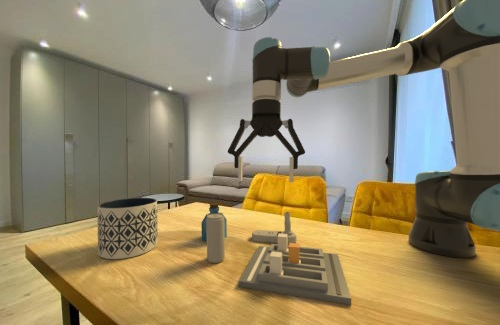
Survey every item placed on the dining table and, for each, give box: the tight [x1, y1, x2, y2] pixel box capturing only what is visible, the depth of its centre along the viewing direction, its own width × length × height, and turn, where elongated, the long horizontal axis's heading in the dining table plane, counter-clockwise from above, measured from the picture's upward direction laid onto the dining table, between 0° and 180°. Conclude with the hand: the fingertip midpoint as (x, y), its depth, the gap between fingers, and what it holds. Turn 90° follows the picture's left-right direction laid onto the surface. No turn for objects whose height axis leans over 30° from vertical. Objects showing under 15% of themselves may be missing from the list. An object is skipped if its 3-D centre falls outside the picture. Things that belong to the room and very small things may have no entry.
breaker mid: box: [288, 242, 301, 264], centre depth 51 cm, size 3×2×5 cm
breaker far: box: [277, 233, 289, 251], centre depth 58 cm, size 3×2×5 cm
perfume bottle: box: [201, 202, 228, 243], centre depth 73 cm, size 6×6×12 cm
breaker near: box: [269, 251, 284, 275], centre depth 46 cm, size 3×2×5 cm
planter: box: [96, 197, 159, 260], centre depth 65 cm, size 16×16×14 cm
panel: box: [238, 243, 352, 306], centre depth 51 cm, size 22×19×3 cm
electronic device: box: [251, 211, 297, 245], centre depth 71 cm, size 5×10×15 cm
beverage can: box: [206, 213, 226, 264], centre depth 57 cm, size 5×5×12 cm
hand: (265, 181), depth 56 cm, fingers open, 13 cm apart
